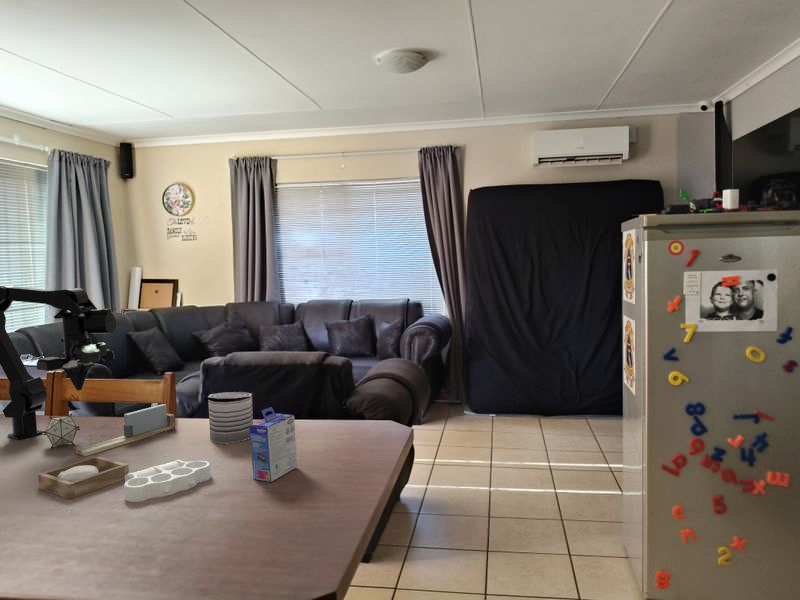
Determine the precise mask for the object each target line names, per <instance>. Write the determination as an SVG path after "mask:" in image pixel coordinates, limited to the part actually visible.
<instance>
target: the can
mask: <svg viewBox="0 0 800 600" xmlns="http://www.w3.org/2000/svg"><path fill="white" fill-rule="evenodd" d="M207 398H208V400H207V401H208V419H209V421H208V422H209V437H210V438H209V440H210V441H211V440H212V441H211V442H212V443H214V442H215V443H214V444H221V443H230V444H234V443H233V442H237V443H240V442H239V441H243V440H245V439H248V438H250V425H252V424H254V416H253V415H254V414H253V412H254V411H253V393H250V392H244V391H243V392H242V391H238V392H237V391H233V392H232V391H231V392H229V391H228V392H227V391H226V392H218V393H211V394H209V395H208V396H207ZM248 440H249V439H248ZM245 441H246V440H245ZM243 442H244V441H243Z"/></svg>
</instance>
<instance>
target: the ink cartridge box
mask: <svg viewBox="0 0 800 600" xmlns="http://www.w3.org/2000/svg"><path fill="white" fill-rule="evenodd" d="M260 412H261V413H262V415H263V419H261V420H259V421H256V422H253V424H252V425H250V439H249V440H250V449H251V452H250V453H251V461H252V462H251V464H252V465H251V466H252V475H253V476H252V477H253V480H259V481H263V482H269V483H271V482H273V481H275V480H277V479H279V478H280V477H283V475H286V474H287V473H289V472H291V471H292V470H294V469H297V468H298V460H297V459H298V457H297V443H296V441H297V440H296V428H295V427H296V425H295V415H294V414H288V413H287V414H284V413H276V412H275V410H274V409H273V407H272V406H270V407H267V408H265V409H261V411H260ZM268 412H271V414H268V415H267V413H268Z"/></svg>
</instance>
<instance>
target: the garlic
mask: <svg viewBox="0 0 800 600" xmlns="http://www.w3.org/2000/svg"><path fill="white" fill-rule="evenodd" d="M97 473H100V472H99V471H98V469H97V468H96V467H95V466H90V465H84V466H76V467H73V468H70V469H68V470H66V471H64V472H60V474H59V475H58V478H60V479H63V480H66V481H69V482H73V481H76V480H79V479H82V478H85V477H88V476H91V475H94V474H97Z"/></svg>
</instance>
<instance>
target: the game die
mask: <svg viewBox="0 0 800 600" xmlns="http://www.w3.org/2000/svg"><path fill="white" fill-rule="evenodd" d="M72 416H73V412H71V413H70V415H68V416H67V415H66V416H59V417H52V416H50V415H49V416H48V417H49V419H50V420H49V423H48V425H47V427H46V429H45V430H42V431H43V432H42V434H43V435H44V436H47V439H48V440H49V443H50V444H51V446H50V449H51V448H52V449H53V448H54V447H55V446H60V445H68V444H69V445H70V444H71V445H72V446H75V443H74V440H75V437H76V434H77V431H80V430H81V428H80V426H78V425H76V422H75V421H74V419H73V417H72Z"/></svg>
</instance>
